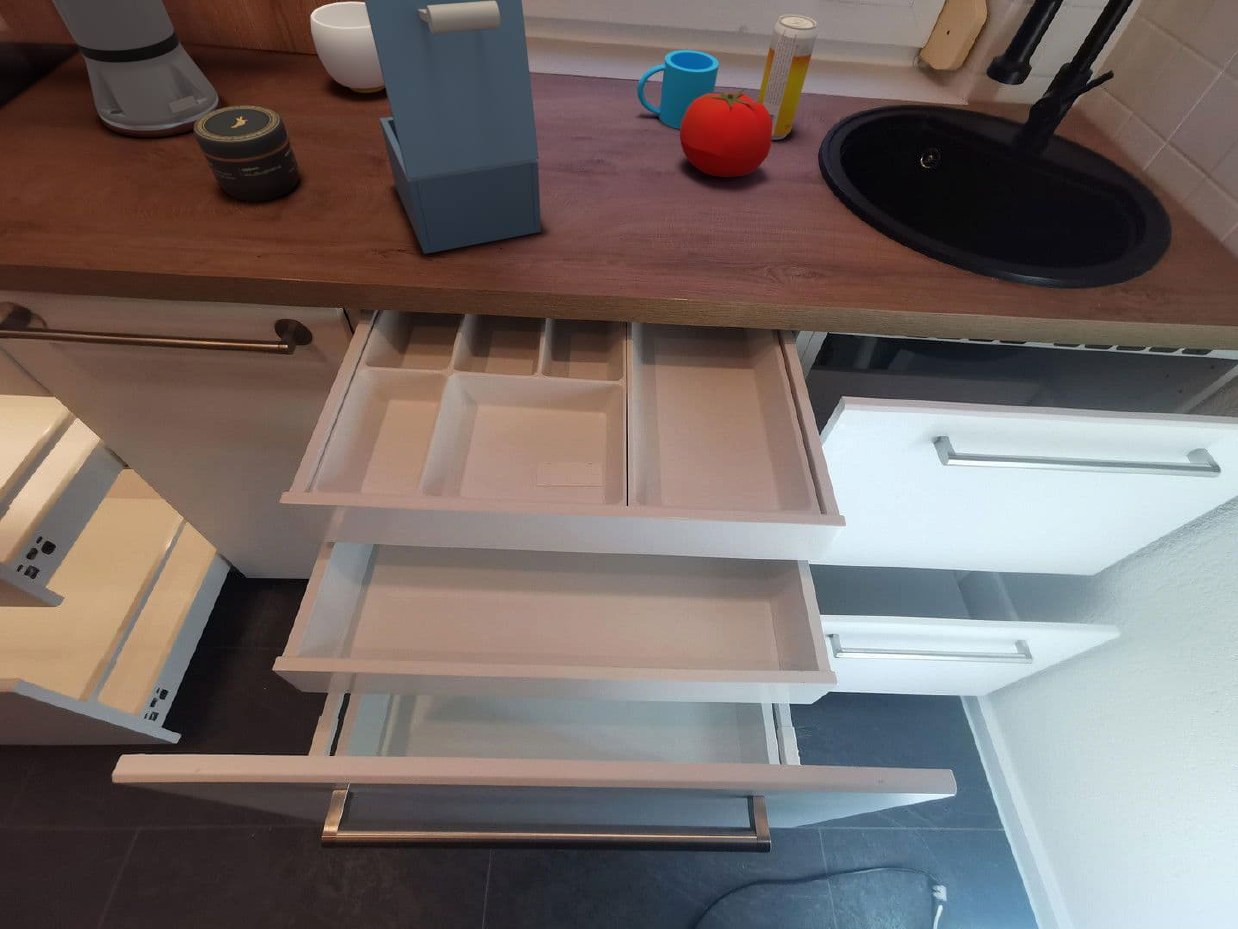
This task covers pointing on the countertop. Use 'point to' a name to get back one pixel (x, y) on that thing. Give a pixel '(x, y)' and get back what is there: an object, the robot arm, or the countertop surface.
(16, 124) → the countertop surface
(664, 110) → the mug
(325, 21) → the cup
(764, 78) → the beer can
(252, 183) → the jar
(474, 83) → the cap lid
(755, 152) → the tomato
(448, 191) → the cap box
